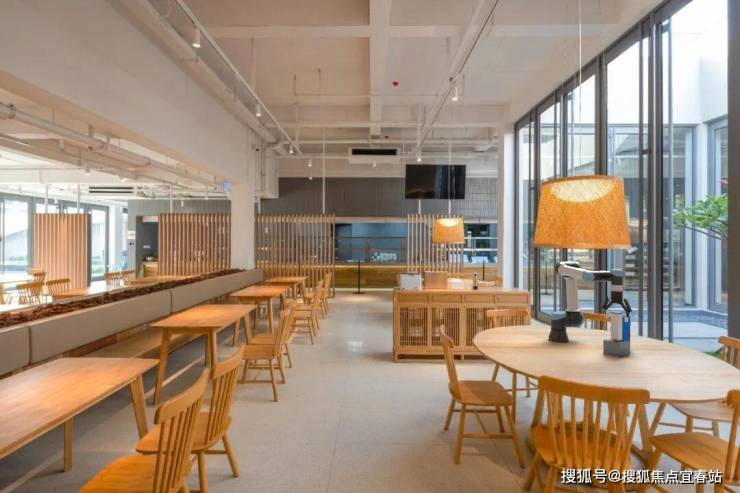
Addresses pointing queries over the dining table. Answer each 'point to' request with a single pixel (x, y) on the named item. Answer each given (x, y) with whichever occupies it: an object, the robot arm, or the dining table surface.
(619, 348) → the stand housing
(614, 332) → the column
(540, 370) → the dining table surface
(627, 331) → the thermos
